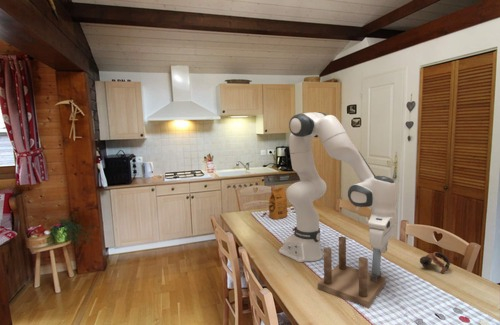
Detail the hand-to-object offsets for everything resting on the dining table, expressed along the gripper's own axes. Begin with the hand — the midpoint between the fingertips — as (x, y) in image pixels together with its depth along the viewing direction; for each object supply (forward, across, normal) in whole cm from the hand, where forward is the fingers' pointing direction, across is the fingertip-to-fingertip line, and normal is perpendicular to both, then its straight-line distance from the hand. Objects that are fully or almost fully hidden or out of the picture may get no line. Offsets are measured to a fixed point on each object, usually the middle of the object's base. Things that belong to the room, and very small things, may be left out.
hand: (383, 251), depth 110 cm
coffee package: (+14, -47, -86) cm, 99 cm away
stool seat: (+15, +7, -10) cm, 19 cm away
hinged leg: (+11, 0, -3) cm, 11 cm away
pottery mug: (+15, -28, +13) cm, 34 cm away
